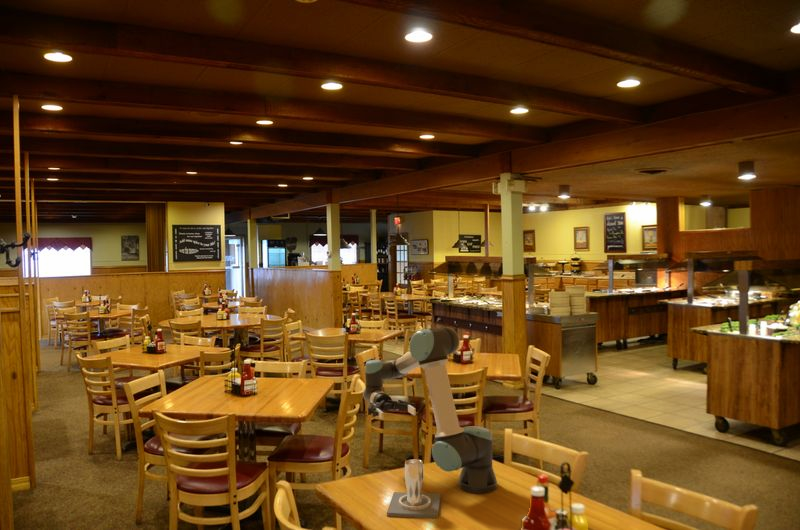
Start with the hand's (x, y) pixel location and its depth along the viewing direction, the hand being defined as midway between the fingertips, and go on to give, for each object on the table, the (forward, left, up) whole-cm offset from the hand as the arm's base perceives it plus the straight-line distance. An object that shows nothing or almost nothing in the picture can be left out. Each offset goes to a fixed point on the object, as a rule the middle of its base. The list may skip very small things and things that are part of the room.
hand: (398, 414), depth 230 cm
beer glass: (-7, +14, -29) cm, 33 cm away
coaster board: (-7, +14, -30) cm, 34 cm away
